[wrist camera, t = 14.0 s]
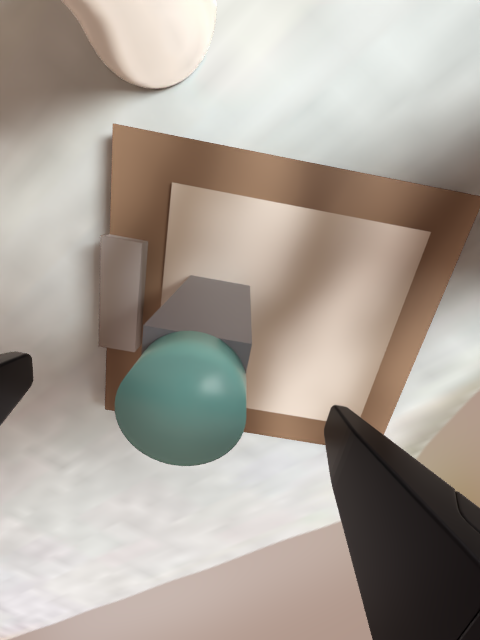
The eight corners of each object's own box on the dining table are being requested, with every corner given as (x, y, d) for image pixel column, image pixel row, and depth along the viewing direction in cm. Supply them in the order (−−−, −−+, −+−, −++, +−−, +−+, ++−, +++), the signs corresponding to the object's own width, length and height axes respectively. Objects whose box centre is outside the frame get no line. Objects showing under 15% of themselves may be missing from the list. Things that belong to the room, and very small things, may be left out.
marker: (241, 341, 17) (234, 474, 8) (182, 331, 17) (112, 455, 8) (252, 284, 16) (257, 368, 7) (189, 272, 16) (117, 344, 7)
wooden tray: (466, 198, 15) (501, 195, 13) (368, 440, 21) (382, 465, 19) (123, 130, 15) (102, 116, 13) (112, 398, 20) (97, 419, 18)
